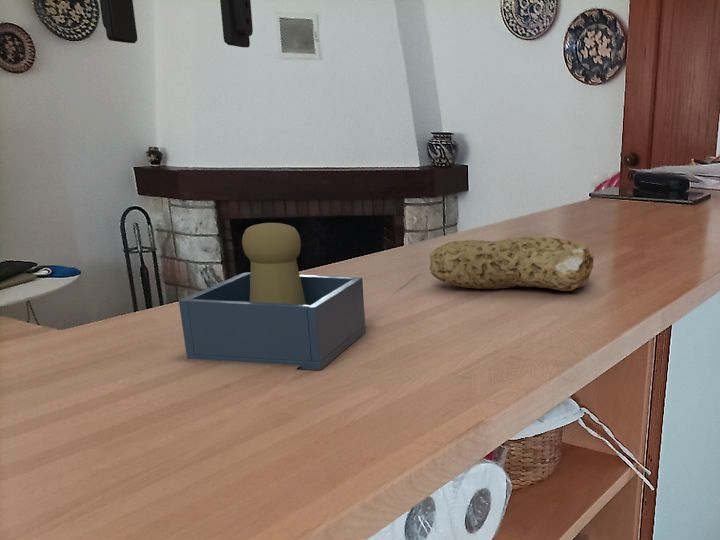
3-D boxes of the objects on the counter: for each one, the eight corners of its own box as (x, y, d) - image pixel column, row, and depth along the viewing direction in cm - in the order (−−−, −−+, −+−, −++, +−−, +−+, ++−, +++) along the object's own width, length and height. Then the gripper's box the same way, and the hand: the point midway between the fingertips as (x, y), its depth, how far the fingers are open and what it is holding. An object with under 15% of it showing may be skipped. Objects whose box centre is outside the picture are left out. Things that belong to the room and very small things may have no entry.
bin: (187, 362, 71) (178, 300, 69) (250, 326, 83) (244, 272, 81) (320, 370, 70) (315, 307, 68) (365, 332, 81) (362, 277, 79)
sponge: (590, 291, 107) (456, 251, 110) (602, 238, 102) (462, 198, 106) (562, 332, 96) (415, 286, 100) (574, 275, 92) (420, 229, 95)
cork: (256, 330, 78) (243, 219, 74) (317, 329, 79) (308, 219, 75) (241, 348, 73) (227, 228, 69) (308, 347, 73) (297, 229, 70)
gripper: (287, -194, 60) (301, 51, 66) (73, -196, 61) (107, 43, 67) (242, -234, 53) (263, 44, 59) (2, -236, 54) (47, 36, 60)
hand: (179, 43), depth 63 cm, fingers open, 9 cm apart
